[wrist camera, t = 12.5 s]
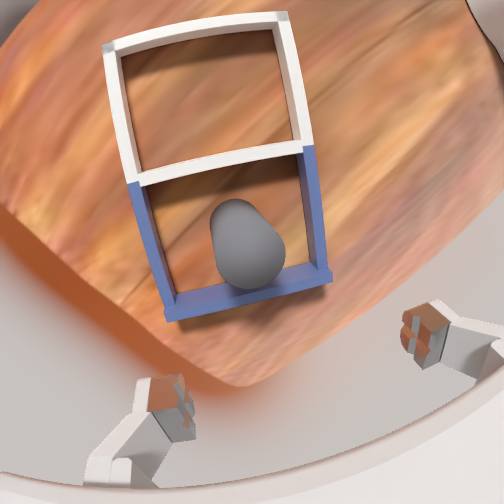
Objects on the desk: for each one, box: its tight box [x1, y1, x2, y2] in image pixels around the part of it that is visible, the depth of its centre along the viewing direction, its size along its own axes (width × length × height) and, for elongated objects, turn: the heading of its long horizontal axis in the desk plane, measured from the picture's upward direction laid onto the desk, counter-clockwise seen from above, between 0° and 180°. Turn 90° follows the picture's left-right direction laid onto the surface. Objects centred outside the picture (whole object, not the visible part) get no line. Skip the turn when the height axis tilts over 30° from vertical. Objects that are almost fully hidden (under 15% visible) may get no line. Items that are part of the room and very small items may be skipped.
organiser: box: [102, 11, 333, 323], centre depth 23 cm, size 15×24×3 cm, turn 11°
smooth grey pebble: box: [210, 199, 286, 289], centre depth 23 cm, size 4×4×8 cm
